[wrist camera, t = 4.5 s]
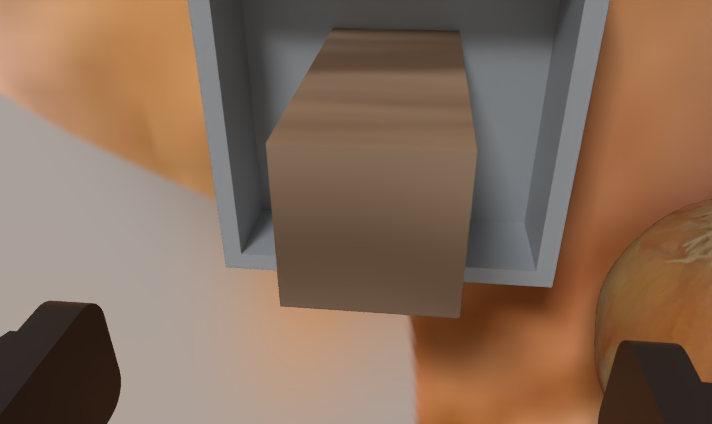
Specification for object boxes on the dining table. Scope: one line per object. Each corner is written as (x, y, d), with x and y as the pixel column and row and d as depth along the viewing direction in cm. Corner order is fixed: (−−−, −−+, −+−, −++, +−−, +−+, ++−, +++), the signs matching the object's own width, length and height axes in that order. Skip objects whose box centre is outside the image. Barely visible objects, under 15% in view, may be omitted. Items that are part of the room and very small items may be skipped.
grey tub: (217, -96, 18) (175, -87, 15) (593, -96, 17) (626, -86, 14) (252, 215, 24) (225, 267, 21) (536, 230, 23) (552, 287, 20)
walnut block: (332, 27, 19) (265, 143, 12) (459, 30, 19) (477, 151, 11) (335, 142, 21) (280, 306, 14) (450, 147, 21) (459, 318, 13)
